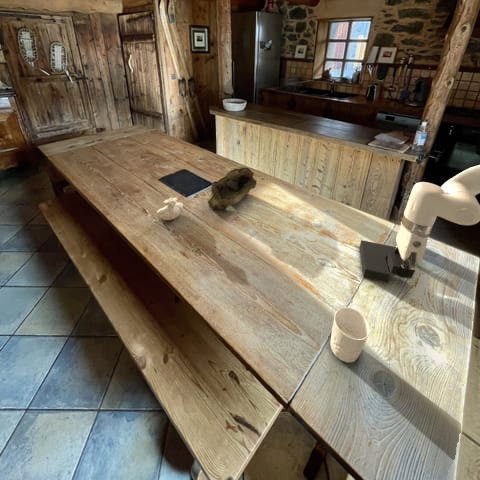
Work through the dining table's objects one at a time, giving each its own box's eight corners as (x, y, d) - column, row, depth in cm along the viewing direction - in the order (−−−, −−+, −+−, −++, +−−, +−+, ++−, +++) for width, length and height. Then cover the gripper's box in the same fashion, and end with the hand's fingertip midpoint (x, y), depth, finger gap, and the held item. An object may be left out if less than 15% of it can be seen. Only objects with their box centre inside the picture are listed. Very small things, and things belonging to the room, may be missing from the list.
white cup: (357, 373, 62) (367, 347, 57) (324, 353, 65) (330, 327, 61) (363, 343, 68) (372, 317, 63) (332, 326, 71) (338, 301, 67)
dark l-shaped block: (401, 256, 95) (403, 248, 93) (411, 288, 83) (414, 280, 81) (359, 247, 98) (361, 240, 97) (363, 276, 86) (365, 269, 85)
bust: (158, 227, 110) (163, 218, 102) (151, 211, 112) (155, 201, 104) (184, 216, 117) (191, 207, 108) (177, 201, 119) (183, 191, 111)
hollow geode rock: (250, 195, 137) (236, 170, 139) (265, 187, 128) (250, 160, 130) (209, 218, 118) (193, 188, 120) (223, 210, 109) (206, 178, 111)
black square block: (406, 264, 87) (410, 256, 86) (411, 278, 82) (415, 270, 80) (386, 259, 89) (389, 251, 87) (390, 273, 83) (393, 265, 82)
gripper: (442, 246, 69) (420, 293, 77) (422, 208, 84) (405, 251, 92) (409, 239, 71) (391, 286, 79) (396, 204, 86) (382, 246, 94)
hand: (399, 267), depth 85 cm, fingers closed on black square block, 6 cm apart
